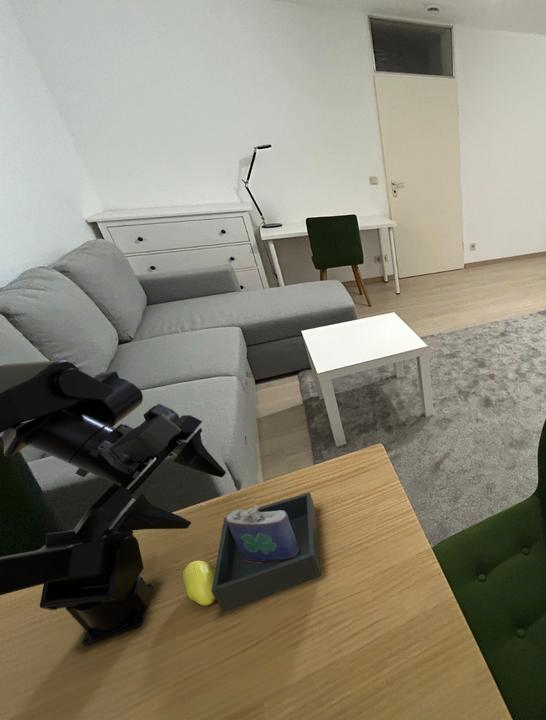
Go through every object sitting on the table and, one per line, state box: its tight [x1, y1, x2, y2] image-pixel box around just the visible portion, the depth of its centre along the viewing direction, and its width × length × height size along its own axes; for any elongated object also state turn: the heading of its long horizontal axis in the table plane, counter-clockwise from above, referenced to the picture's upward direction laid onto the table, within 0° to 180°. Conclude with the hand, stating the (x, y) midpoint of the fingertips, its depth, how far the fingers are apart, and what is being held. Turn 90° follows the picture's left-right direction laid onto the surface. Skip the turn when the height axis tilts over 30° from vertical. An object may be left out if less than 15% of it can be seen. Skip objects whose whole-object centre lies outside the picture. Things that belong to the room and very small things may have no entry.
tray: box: [211, 492, 322, 612], centre depth 62 cm, size 13×13×5 cm
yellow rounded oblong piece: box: [182, 560, 217, 607], centre depth 57 cm, size 4×8×4 cm
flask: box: [226, 504, 300, 563], centre depth 60 cm, size 9×3×11 cm, turn 89°
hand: (208, 498), depth 56 cm, fingers open, 9 cm apart
